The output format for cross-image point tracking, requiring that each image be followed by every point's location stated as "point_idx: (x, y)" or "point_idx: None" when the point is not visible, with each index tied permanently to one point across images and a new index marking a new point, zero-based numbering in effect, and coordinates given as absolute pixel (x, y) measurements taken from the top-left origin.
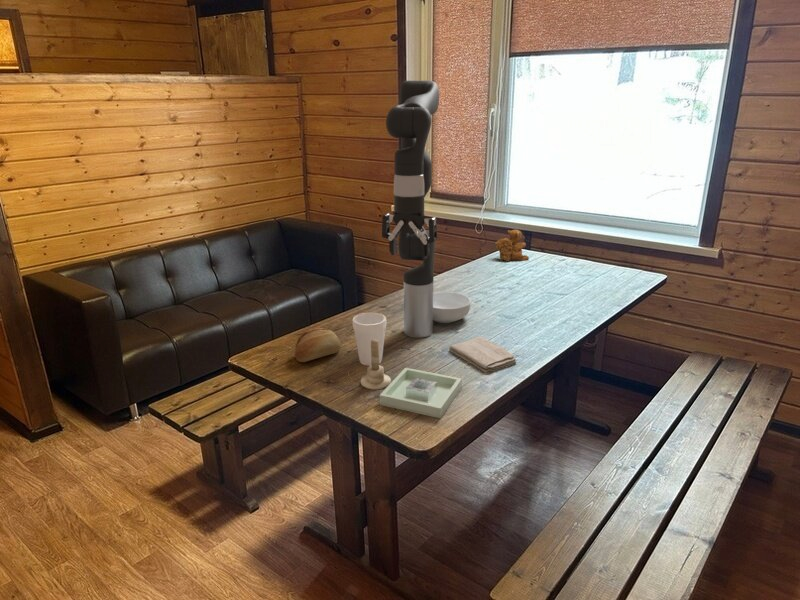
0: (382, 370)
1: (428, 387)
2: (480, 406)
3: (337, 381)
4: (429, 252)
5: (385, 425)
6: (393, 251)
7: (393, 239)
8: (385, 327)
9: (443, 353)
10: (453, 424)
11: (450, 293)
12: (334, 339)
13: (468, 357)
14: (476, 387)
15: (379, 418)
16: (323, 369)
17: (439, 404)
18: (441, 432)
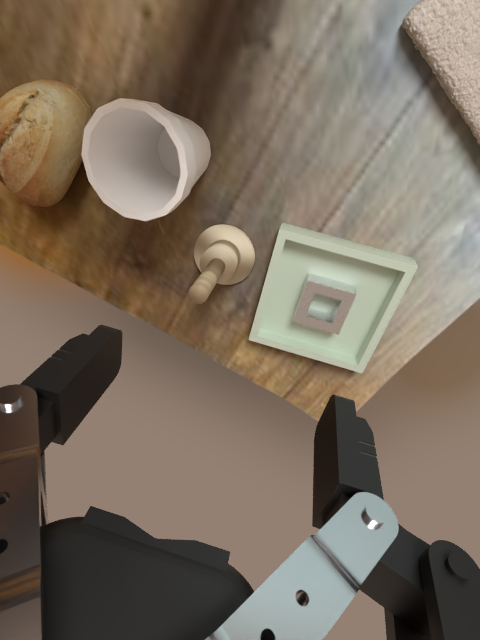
0: (233, 272)
1: (338, 315)
2: (442, 323)
3: (152, 259)
4: (370, 444)
5: (272, 379)
6: (105, 389)
7: (46, 446)
8: (195, 169)
9: (380, 53)
10: (381, 375)
11: None
12: (69, 143)
13: (460, 108)
14: (449, 252)
15: (260, 364)
16: (104, 213)
17: (360, 362)
18: (360, 393)
